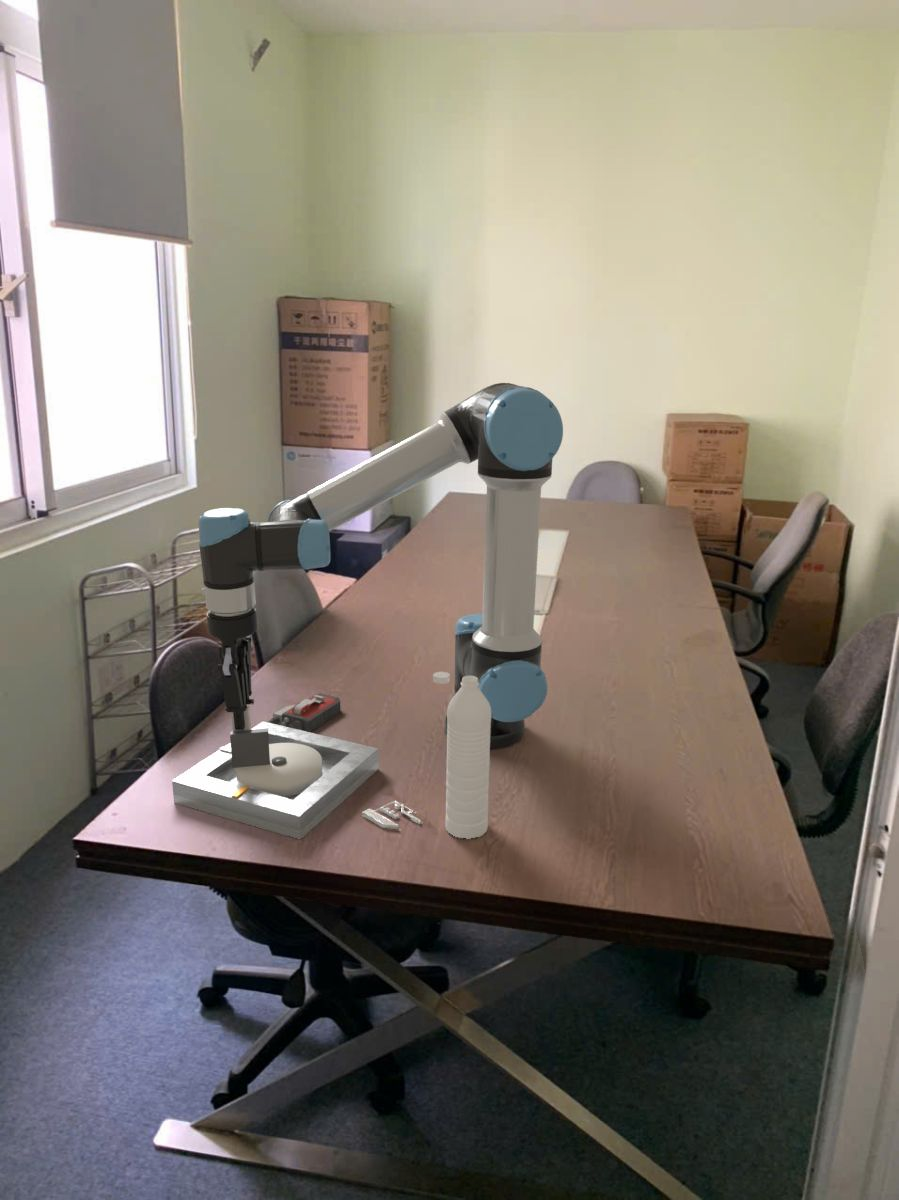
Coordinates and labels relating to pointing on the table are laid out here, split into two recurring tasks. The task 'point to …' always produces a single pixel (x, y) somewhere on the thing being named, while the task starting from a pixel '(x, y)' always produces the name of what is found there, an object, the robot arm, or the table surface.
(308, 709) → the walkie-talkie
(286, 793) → the dial
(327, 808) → the silver rectangular frame
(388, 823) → the model kit parts
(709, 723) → the table surface
